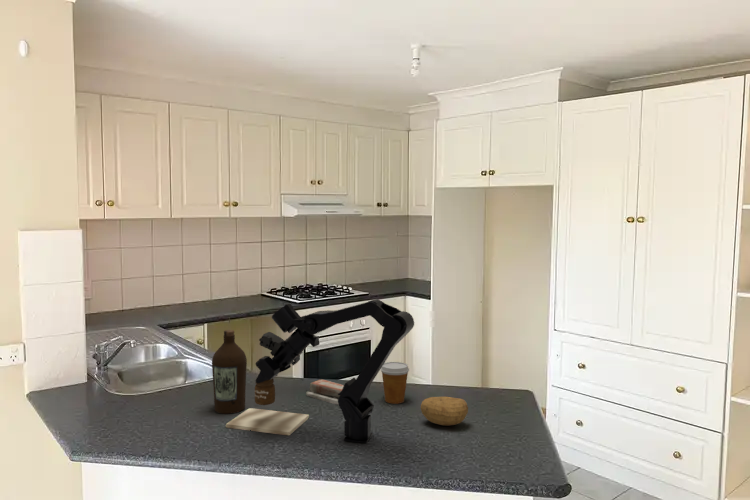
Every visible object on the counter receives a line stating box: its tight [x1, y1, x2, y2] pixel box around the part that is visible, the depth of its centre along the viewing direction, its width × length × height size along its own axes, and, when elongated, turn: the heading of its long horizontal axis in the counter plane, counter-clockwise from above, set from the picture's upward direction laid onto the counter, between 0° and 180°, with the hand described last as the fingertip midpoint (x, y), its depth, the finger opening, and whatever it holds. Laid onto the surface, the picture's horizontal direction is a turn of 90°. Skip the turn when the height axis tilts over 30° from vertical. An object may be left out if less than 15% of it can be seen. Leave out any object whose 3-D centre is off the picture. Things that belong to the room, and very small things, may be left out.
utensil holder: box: [254, 368, 276, 406], centre depth 165 cm, size 6×6×12 cm
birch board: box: [225, 407, 310, 436], centre depth 167 cm, size 20×14×1 cm
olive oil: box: [211, 329, 248, 415], centre depth 177 cm, size 11×11×25 cm
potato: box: [420, 396, 469, 427], centre depth 166 cm, size 10×14×8 cm
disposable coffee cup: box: [380, 361, 410, 405], centre depth 187 cm, size 10×10×12 cm
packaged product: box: [305, 378, 345, 406], centre depth 190 cm, size 18×5×10 cm
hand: (260, 379), depth 165 cm, fingers closed on utensil holder, 5 cm apart
